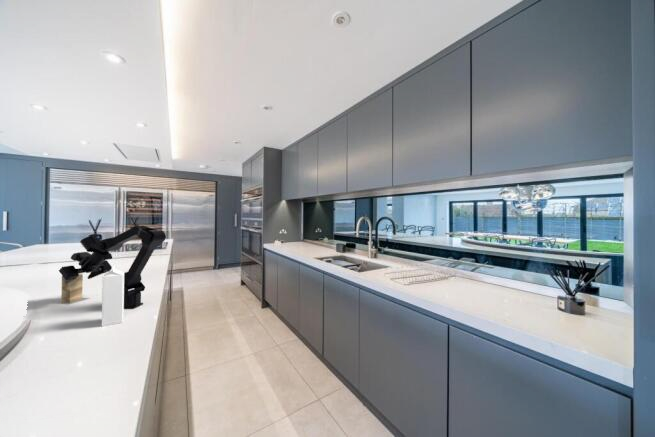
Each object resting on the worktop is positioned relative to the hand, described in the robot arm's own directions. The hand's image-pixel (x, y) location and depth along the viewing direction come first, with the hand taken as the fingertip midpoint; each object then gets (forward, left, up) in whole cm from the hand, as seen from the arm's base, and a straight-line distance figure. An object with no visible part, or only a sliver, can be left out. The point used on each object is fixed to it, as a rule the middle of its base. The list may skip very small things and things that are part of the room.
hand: (77, 280), depth 115 cm
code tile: (+3, -1, -11) cm, 11 cm away
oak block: (+3, -1, -10) cm, 10 cm away
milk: (-35, +24, -11) cm, 44 cm away
